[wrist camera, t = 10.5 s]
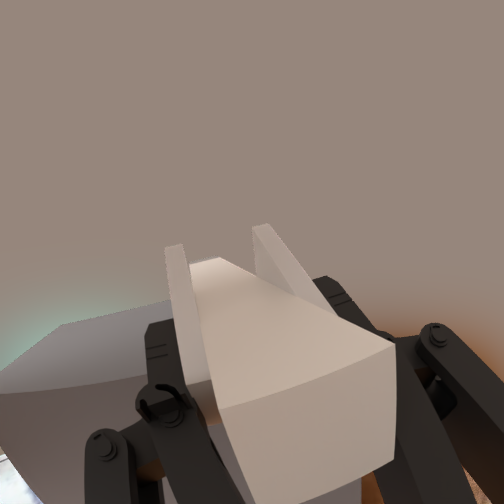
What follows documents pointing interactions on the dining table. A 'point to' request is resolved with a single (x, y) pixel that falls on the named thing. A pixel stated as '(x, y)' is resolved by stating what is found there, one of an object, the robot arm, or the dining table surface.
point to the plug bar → (293, 385)
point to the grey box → (92, 404)
